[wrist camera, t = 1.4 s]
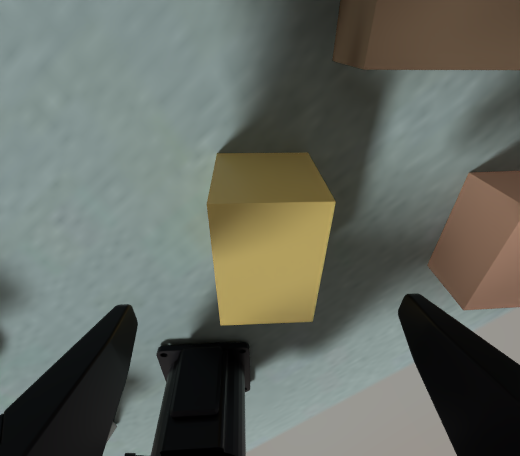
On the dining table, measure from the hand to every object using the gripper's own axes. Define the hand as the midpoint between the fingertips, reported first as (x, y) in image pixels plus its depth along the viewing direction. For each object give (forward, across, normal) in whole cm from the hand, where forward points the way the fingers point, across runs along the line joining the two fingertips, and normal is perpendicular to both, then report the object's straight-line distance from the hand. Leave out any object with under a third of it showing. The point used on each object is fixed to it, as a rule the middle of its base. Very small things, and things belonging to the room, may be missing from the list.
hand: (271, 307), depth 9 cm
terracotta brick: (+6, -12, +1) cm, 14 cm away
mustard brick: (+6, 0, 0) cm, 6 cm away
